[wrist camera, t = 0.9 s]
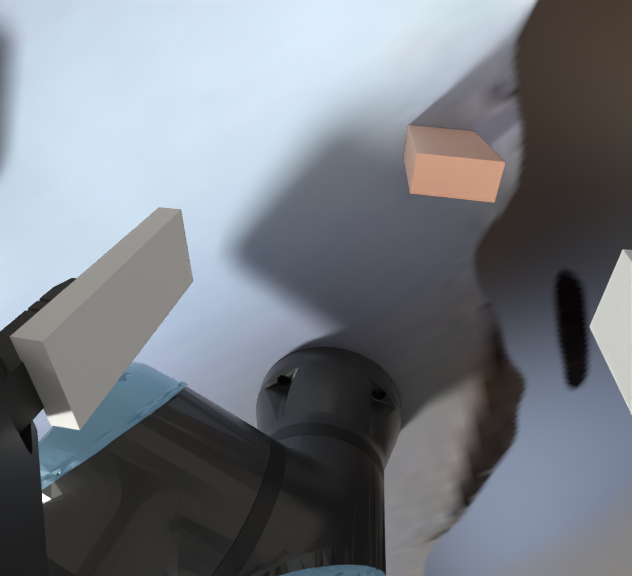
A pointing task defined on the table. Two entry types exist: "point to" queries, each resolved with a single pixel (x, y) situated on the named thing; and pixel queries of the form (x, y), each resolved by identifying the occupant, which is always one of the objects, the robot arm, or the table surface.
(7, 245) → the table surface
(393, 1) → the table surface
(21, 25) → the table surface
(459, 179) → the domino
